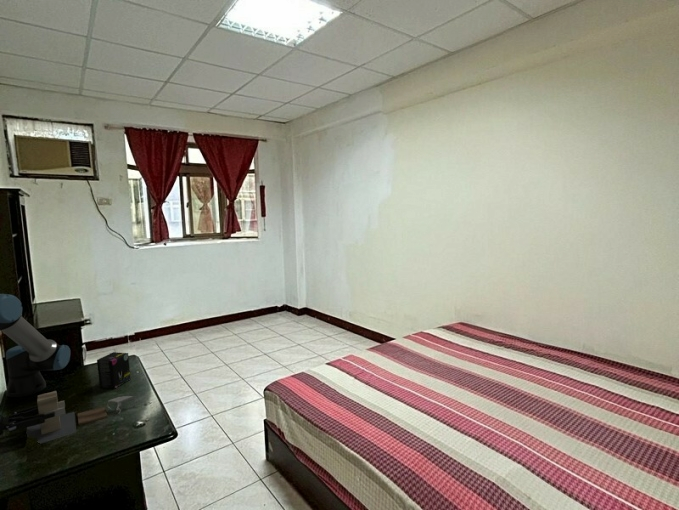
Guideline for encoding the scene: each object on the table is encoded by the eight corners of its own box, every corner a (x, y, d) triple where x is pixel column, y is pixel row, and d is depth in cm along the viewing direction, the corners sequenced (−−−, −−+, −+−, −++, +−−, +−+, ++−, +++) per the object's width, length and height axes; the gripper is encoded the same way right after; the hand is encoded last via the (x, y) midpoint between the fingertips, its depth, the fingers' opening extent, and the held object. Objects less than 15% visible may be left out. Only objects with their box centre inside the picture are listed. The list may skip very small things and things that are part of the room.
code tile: (27, 425, 156) (27, 424, 156) (74, 411, 166) (74, 411, 166) (24, 448, 140) (24, 448, 140) (76, 432, 150) (76, 432, 150)
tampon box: (115, 389, 186) (112, 360, 184) (99, 388, 188) (96, 359, 186) (131, 379, 197) (128, 352, 195) (116, 378, 199) (113, 351, 197)
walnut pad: (77, 415, 162) (77, 413, 162) (104, 408, 168) (104, 405, 168) (78, 426, 154) (78, 423, 154) (107, 417, 160) (107, 415, 160)
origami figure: (108, 417, 160) (107, 407, 160) (107, 409, 167) (105, 399, 166) (140, 408, 167) (139, 398, 167) (137, 401, 174) (136, 391, 173)
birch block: (42, 427, 154) (37, 395, 152) (60, 422, 157) (56, 390, 155) (41, 434, 149) (37, 401, 147) (60, 429, 152) (56, 396, 151)
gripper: (-7, 425, 150) (65, 406, 163) (-14, 449, 134) (66, 425, 148) (-10, 408, 149) (63, 389, 162) (-17, 429, 133) (64, 407, 147)
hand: (64, 407), depth 155 cm, fingers closed on birch block, 6 cm apart
